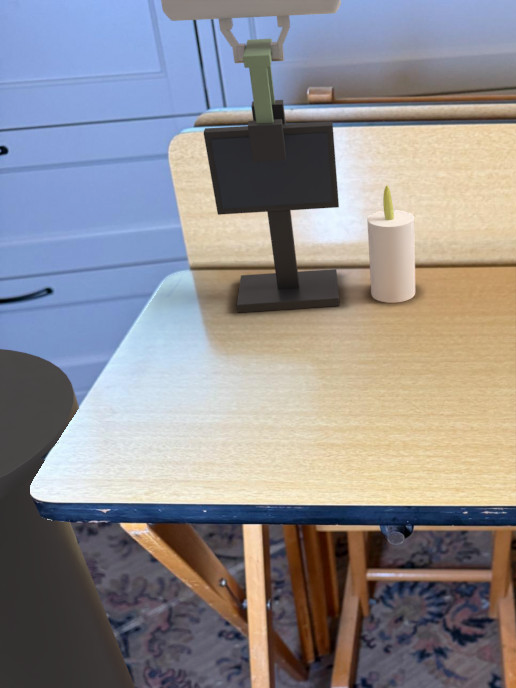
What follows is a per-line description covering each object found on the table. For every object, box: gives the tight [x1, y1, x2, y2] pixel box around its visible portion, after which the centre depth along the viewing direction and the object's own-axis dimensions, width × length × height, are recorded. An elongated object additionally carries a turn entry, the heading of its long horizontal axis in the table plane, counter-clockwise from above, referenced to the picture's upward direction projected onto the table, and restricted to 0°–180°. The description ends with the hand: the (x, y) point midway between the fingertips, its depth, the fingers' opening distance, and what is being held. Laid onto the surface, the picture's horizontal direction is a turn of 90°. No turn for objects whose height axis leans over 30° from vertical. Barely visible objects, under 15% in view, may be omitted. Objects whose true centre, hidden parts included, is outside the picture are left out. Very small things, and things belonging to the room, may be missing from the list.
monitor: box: [203, 120, 340, 314], centre depth 106 cm, size 16×10×22 cm, turn 95°
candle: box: [366, 185, 416, 304], centre depth 108 cm, size 6×6×15 cm
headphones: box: [243, 38, 287, 162], centre depth 97 cm, size 4×12×11 cm, turn 5°
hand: (260, 61), depth 95 cm, fingers closed on headphones, 3 cm apart
